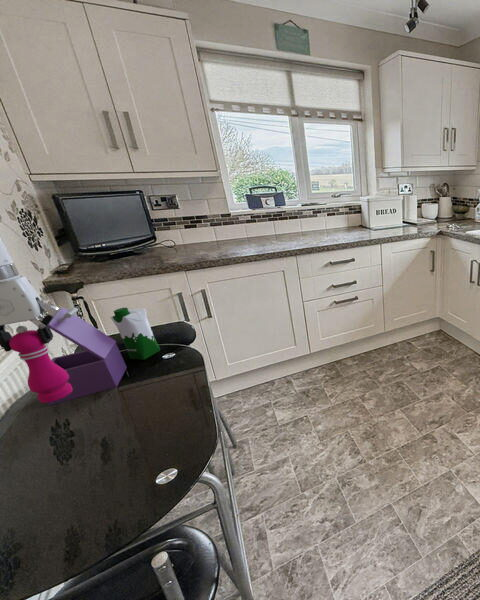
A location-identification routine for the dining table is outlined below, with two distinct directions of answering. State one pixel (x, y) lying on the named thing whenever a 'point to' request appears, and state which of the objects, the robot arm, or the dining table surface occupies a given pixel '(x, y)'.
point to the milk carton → (135, 332)
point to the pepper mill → (40, 366)
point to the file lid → (81, 333)
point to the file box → (91, 372)
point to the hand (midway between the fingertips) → (30, 344)
